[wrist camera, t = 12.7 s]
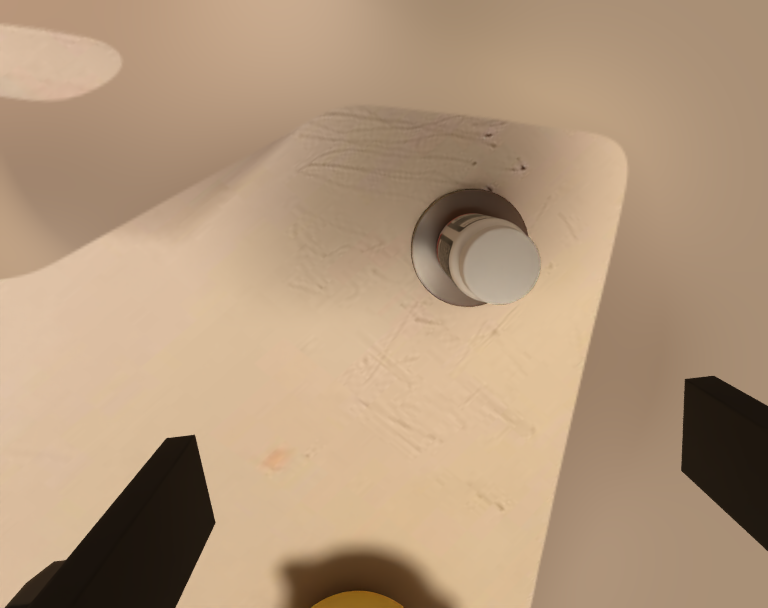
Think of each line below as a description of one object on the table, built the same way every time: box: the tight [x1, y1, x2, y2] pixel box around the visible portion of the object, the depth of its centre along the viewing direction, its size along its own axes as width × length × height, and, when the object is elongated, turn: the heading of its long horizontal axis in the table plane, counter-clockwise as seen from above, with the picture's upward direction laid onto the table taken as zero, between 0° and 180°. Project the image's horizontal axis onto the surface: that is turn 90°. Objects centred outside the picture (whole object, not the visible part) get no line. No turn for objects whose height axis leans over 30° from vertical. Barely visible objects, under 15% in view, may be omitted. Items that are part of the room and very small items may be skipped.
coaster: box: [411, 189, 528, 307], centre depth 33 cm, size 8×8×1 cm
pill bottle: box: [436, 213, 541, 305], centre depth 28 cm, size 5×5×8 cm
